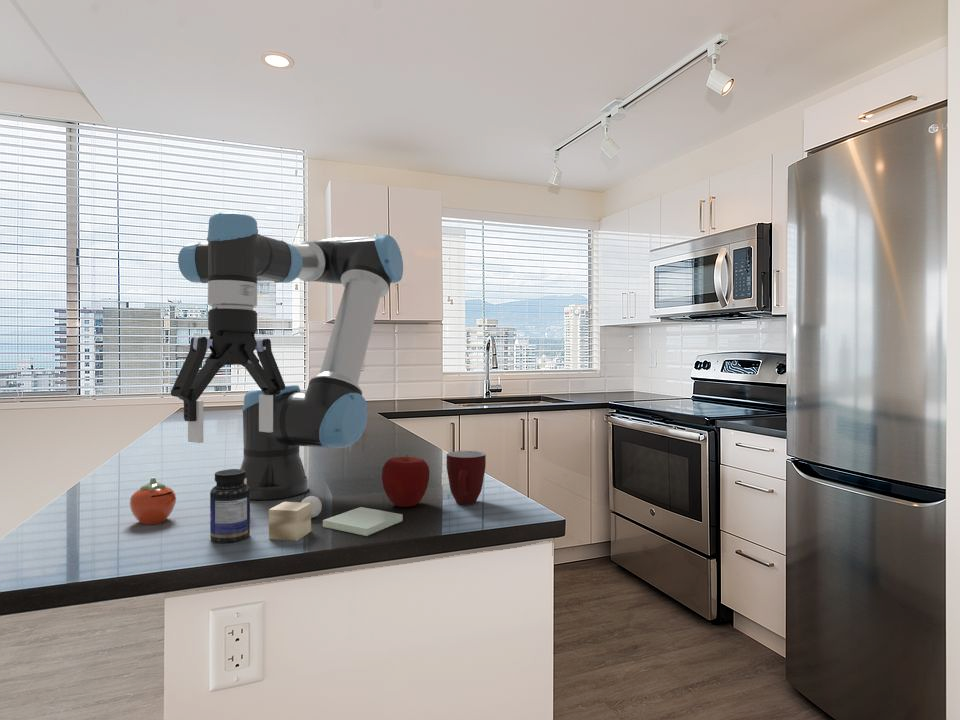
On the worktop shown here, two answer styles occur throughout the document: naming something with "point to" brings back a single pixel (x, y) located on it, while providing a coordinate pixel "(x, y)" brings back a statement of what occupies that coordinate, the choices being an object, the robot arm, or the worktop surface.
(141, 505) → the tomato
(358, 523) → the coaster
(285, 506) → the maple block
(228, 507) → the pill bottle
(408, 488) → the apple
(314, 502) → the grey ball
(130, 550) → the worktop surface
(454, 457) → the mug
